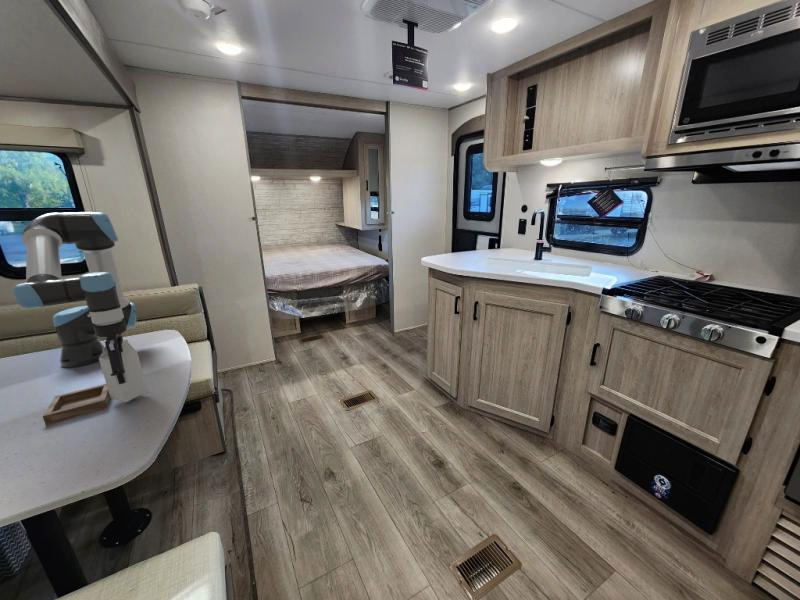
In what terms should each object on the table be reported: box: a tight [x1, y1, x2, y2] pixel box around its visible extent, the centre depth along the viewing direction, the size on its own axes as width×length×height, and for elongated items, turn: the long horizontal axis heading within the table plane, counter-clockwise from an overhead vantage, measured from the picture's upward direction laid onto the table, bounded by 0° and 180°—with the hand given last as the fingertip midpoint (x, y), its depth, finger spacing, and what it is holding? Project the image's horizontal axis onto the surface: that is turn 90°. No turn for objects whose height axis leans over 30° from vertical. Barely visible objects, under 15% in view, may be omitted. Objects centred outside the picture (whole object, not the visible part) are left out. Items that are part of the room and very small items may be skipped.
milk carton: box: [98, 339, 148, 403], centre depth 106 cm, size 7×7×19 cm
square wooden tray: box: [42, 383, 111, 426], centre depth 105 cm, size 14×14×3 cm
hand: (126, 384), depth 107 cm, fingers closed on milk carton, 10 cm apart
